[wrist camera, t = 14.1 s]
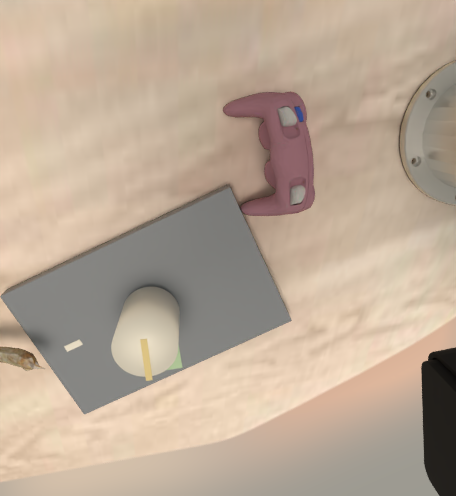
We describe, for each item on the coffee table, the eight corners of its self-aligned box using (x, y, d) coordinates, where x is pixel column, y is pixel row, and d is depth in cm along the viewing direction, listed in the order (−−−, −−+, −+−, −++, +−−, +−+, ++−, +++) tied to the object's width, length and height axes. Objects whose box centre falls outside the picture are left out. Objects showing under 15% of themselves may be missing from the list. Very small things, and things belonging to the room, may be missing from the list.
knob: (119, 286, 38) (106, 322, 32) (176, 281, 38) (174, 315, 32) (132, 369, 41) (122, 418, 34) (185, 364, 41) (185, 411, 35)
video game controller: (277, 203, 40) (331, 212, 34) (237, 217, 38) (287, 229, 32) (261, 92, 37) (317, 81, 31) (216, 101, 35) (267, 91, 29)
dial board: (228, 184, 38) (230, 187, 36) (288, 313, 42) (291, 320, 41) (6, 289, 39) (-1, 296, 37) (87, 404, 43) (84, 414, 42)
